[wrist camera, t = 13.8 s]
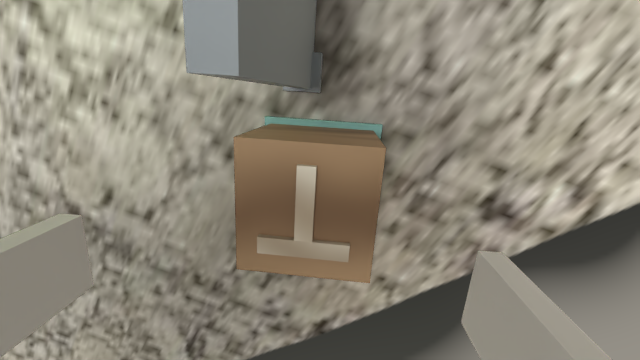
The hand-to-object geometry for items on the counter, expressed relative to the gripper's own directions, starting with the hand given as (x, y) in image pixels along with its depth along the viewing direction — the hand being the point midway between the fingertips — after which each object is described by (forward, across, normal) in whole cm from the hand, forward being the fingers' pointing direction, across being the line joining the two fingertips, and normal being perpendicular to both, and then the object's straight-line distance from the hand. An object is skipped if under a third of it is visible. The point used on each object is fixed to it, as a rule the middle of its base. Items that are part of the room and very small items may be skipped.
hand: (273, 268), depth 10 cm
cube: (+12, +1, 0) cm, 12 cm away
